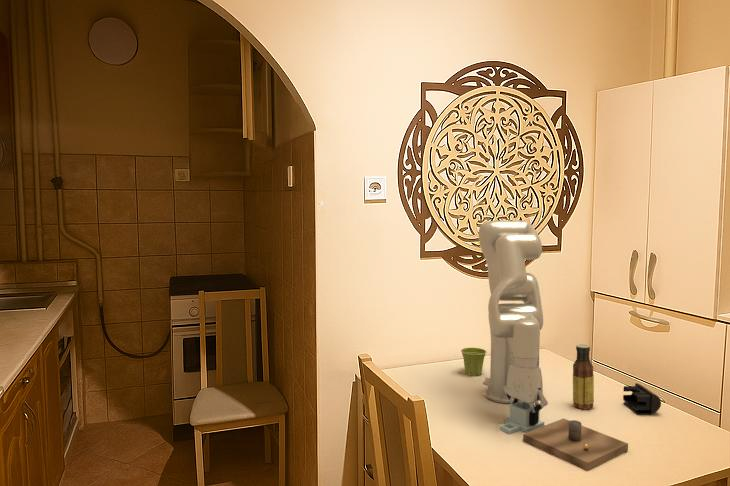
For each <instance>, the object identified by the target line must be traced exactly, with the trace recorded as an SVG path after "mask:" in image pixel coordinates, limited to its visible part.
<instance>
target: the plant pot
mask: <svg viewBox="0 0 730 486" xmlns="http://www.w3.org/2000/svg"><path fill="white" fill-rule="evenodd" d="M460 351H461V354H462V357H463V364H464V365H463V366H464V372H466V373H467V375H469V374H470V375H469V376H475V375H476V376H479V375H480V374H481V375H482V373H483V366H484V361H485V357H486V354H487V350H486V349H484V348H480V347H464V348H462V349H460ZM466 373H465V374H466Z"/></svg>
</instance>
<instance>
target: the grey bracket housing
mask: <svg viewBox="0 0 730 486" xmlns="http://www.w3.org/2000/svg"><path fill="white" fill-rule="evenodd" d="M534 406H535V404H534ZM530 412H531V408H530V404H529V403H526V402H523V401H520V402H517V403H514V404H509V417H508V418H505V419H504V424H501V425H499V430H501V431H503V432H504V433H506V434H509V435H511V434H513V433H516V432H518V431H522V432H525V433H527V432H530V431H532V430H535V429H537V428H540V427H542V426H545V422H544V421H543V420H540V411H538V423H537V424H534V425H532V426H531V425H530V424H529V416H530Z"/></svg>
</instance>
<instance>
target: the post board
mask: <svg viewBox="0 0 730 486" xmlns="http://www.w3.org/2000/svg"><path fill="white" fill-rule="evenodd" d="M522 441H523V442H524V443H527V444H529V445H532V446H533V447H535V448H538V449H540V450H542V451H545V452H546V453H548V454H551V455H553V456H555V457H556V458H559V459H561V460H564V461H566V462H568V463H570V464H573V466H574V465H575V466H577V467H578V468H581V469H583V470H586V471H589V470H591V469H594V468H596V467H598V466H600V465H603V464H604V463H606V462H609V461H610V460H613V459H614V458H616V457H618V456H620V455H623V454H624V453H626V452H628V451H629V443H627V442H625V441H622V440H620V439H618V438H615V437H613V436H609V435H607V434H605V433H603V432H599V431H597V430H594V429H593V428H590V427H586V426H584V425H582V422H581V421H579V420H574V419H572V420H569V419H566V418H561V419H558V420H556V421H553V422H550V423H548V424H544V426H542V427H539V428H536V429H534V430H531V431H529V432H525V433H523V434H522ZM584 443H587V444H589V450H588V451H585V450H584Z"/></svg>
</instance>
